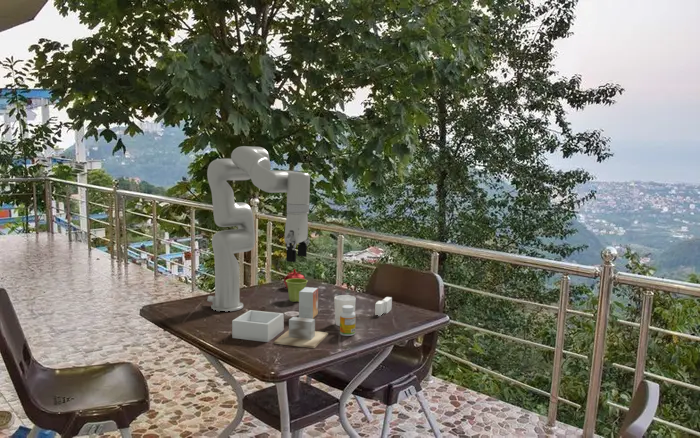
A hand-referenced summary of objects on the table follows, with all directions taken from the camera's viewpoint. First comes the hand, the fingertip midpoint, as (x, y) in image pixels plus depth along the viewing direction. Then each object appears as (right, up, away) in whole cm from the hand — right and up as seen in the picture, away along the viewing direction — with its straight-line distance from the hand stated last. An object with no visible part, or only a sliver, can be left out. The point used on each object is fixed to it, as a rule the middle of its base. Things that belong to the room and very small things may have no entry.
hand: (296, 258), depth 174 cm
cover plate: (+2, -27, -3) cm, 27 cm away
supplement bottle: (+17, -27, +3) cm, 32 cm away
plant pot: (-5, -22, +46) cm, 51 cm away
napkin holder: (+31, -25, +30) cm, 50 cm away
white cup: (+16, -25, +14) cm, 33 cm away
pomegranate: (-8, -19, +67) cm, 70 cm away
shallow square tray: (-13, -26, +1) cm, 29 cm away
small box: (+2, -24, +23) cm, 33 cm away
